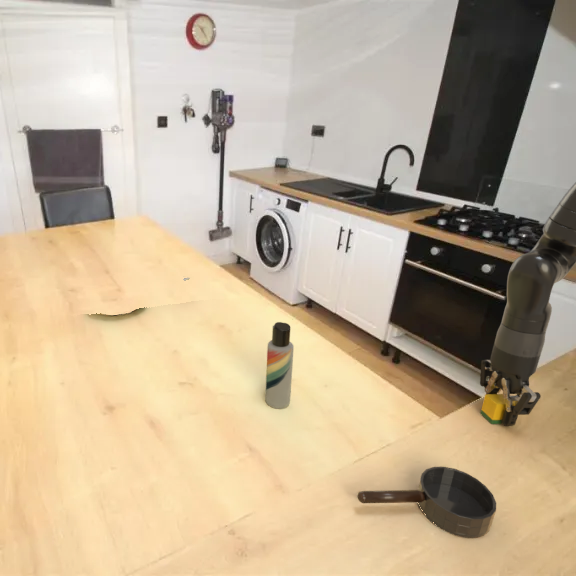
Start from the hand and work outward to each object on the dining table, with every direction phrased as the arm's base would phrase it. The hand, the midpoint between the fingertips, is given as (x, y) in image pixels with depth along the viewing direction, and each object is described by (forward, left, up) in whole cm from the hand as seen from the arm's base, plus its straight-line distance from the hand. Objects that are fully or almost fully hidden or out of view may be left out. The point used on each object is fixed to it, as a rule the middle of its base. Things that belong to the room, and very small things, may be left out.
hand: (497, 416), depth 88 cm
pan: (+23, +23, -1) cm, 32 cm away
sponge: (0, 0, -1) cm, 1 cm away
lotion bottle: (+46, -7, -1) cm, 47 cm away
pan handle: (+34, +23, +2) cm, 40 cm away
